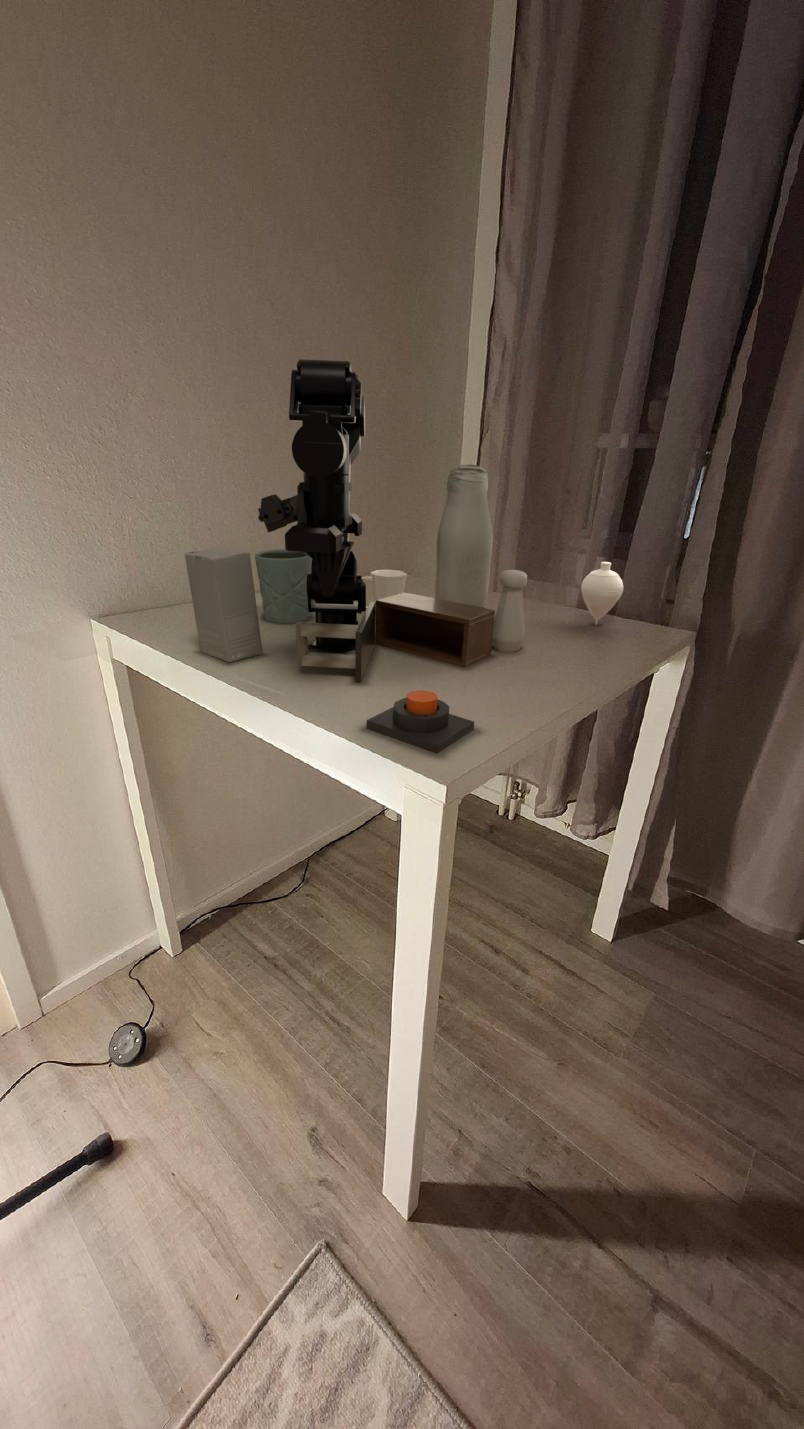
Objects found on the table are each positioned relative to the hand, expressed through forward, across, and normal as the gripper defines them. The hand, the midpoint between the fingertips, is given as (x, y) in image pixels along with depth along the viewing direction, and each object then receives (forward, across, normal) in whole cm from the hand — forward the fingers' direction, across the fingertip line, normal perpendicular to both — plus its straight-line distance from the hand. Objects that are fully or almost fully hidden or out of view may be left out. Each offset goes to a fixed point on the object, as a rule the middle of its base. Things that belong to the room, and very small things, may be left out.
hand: (328, 596), depth 84 cm
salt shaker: (+12, -19, +26) cm, 34 cm away
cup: (+12, -37, +2) cm, 39 cm away
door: (+11, -7, 0) cm, 13 cm away
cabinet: (+12, -15, +14) cm, 24 cm away
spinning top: (+12, -38, +44) cm, 60 cm away
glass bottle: (+12, -36, +18) cm, 42 cm away
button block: (+12, +16, +14) cm, 24 cm away
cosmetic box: (+12, -7, -18) cm, 22 cm away
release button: (+9, +16, +15) cm, 23 cm away
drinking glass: (+12, -29, -15) cm, 35 cm away
